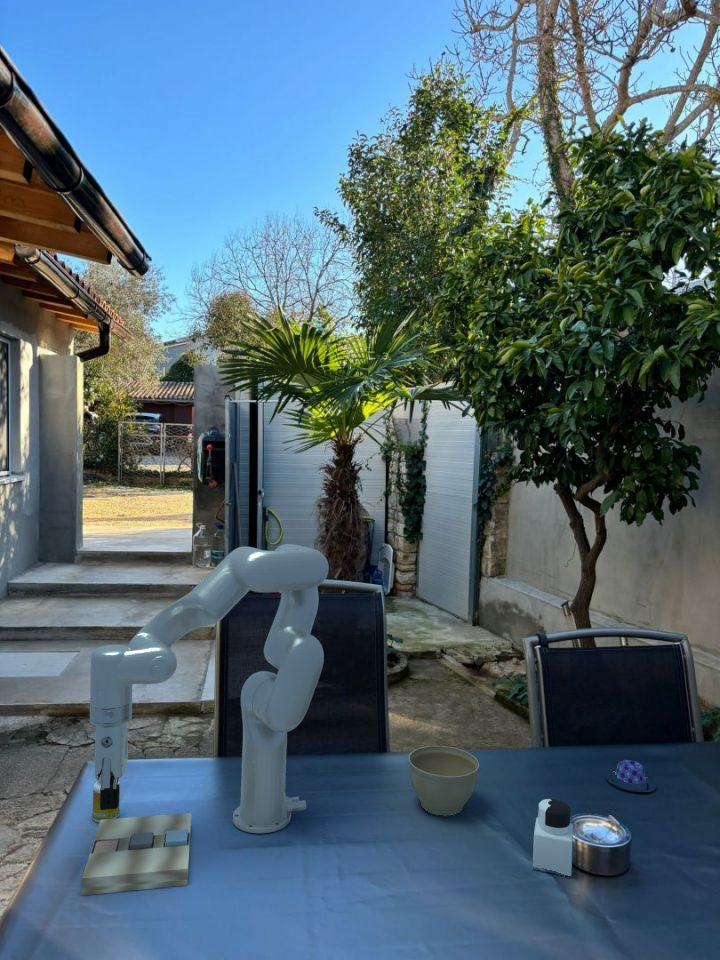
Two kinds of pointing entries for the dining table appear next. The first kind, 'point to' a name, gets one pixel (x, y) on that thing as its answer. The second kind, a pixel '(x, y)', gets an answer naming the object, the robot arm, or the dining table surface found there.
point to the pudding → (630, 772)
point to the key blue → (176, 838)
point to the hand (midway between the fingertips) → (109, 807)
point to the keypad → (138, 856)
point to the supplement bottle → (97, 812)
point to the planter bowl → (443, 778)
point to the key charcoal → (141, 841)
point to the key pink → (106, 846)
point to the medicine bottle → (553, 837)
